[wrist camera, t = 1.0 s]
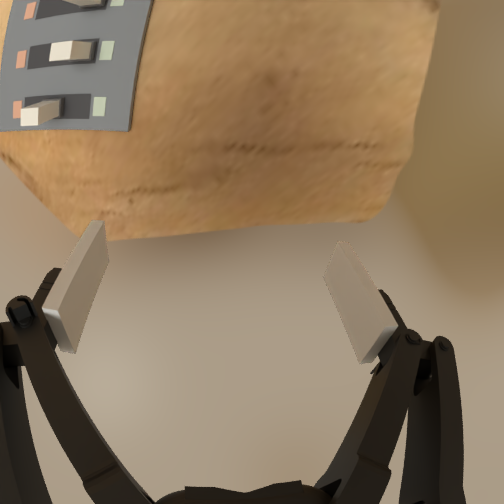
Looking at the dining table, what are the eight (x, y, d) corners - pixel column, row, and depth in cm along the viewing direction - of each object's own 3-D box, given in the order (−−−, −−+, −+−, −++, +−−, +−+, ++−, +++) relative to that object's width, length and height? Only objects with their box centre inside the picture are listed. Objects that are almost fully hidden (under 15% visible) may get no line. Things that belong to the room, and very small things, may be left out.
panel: (18, -2, 16) (13, -3, 15) (160, -22, 21) (158, -25, 19) (3, 129, 27) (-3, 132, 26) (130, 129, 31) (127, 131, 30)
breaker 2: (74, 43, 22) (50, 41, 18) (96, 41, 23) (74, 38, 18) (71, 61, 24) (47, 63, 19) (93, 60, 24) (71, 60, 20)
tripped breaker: (45, 98, 25) (19, 107, 21) (64, 97, 26) (39, 105, 21) (44, 116, 27) (19, 127, 22) (63, 116, 27) (39, 127, 23)
